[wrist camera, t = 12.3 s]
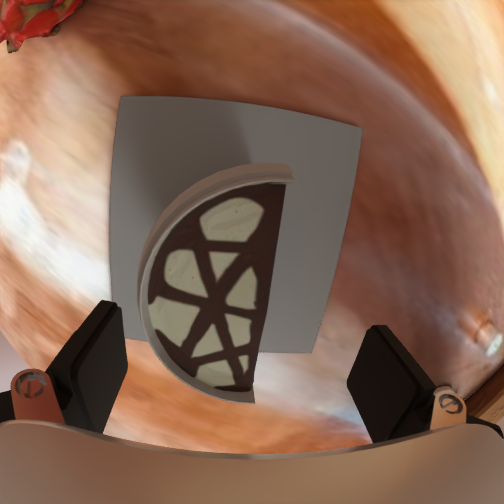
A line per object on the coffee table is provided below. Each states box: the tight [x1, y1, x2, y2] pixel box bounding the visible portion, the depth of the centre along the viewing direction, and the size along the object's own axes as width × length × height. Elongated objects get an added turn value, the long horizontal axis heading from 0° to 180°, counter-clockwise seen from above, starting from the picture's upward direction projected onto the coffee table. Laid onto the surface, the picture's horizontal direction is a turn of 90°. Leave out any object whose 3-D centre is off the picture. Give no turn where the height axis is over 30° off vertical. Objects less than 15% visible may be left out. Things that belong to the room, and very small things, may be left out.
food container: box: [137, 163, 297, 404], centre depth 16 cm, size 12×6×10 cm, turn 173°
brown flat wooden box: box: [464, 365, 504, 424], centre depth 36 cm, size 23×19×6 cm
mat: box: [109, 96, 363, 353], centre depth 21 cm, size 18×20×1 cm
